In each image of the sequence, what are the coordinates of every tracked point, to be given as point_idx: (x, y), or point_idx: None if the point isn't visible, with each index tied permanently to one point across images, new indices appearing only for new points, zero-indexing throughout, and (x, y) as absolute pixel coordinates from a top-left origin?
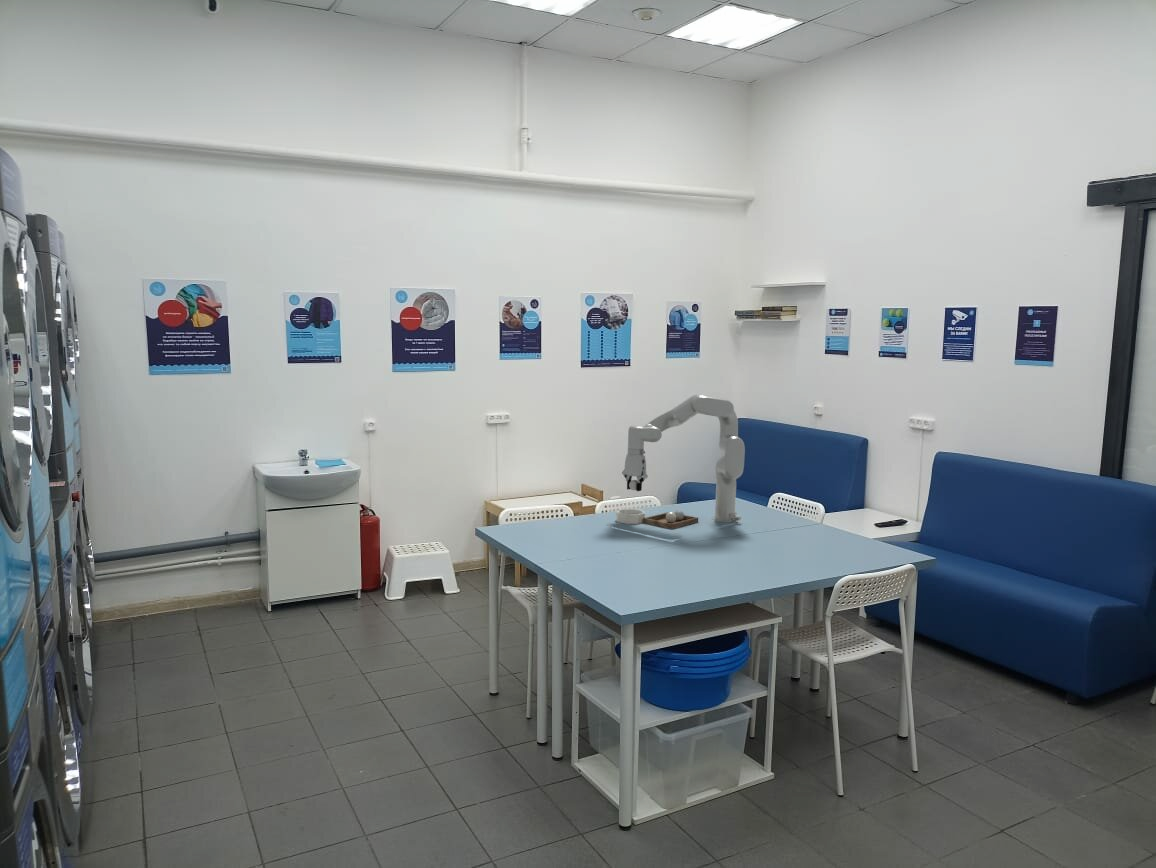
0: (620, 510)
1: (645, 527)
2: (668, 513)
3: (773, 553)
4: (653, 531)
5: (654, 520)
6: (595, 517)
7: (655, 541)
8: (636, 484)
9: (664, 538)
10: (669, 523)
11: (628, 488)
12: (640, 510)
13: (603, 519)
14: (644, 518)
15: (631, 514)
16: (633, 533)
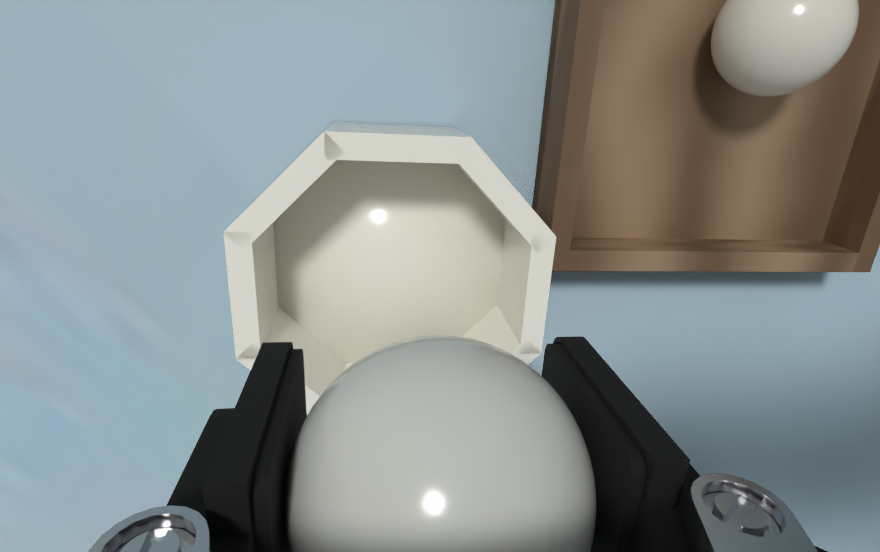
0: (259, 319)
1: (590, 302)
2: (799, 67)
3: None
4: (699, 355)
5: (680, 264)
6: (9, 338)
7: (807, 525)
8: None
9: (831, 442)
10: (838, 260)
11: None
12: (432, 152)
13: (131, 343)
14: (564, 267)
15: None
16: None
